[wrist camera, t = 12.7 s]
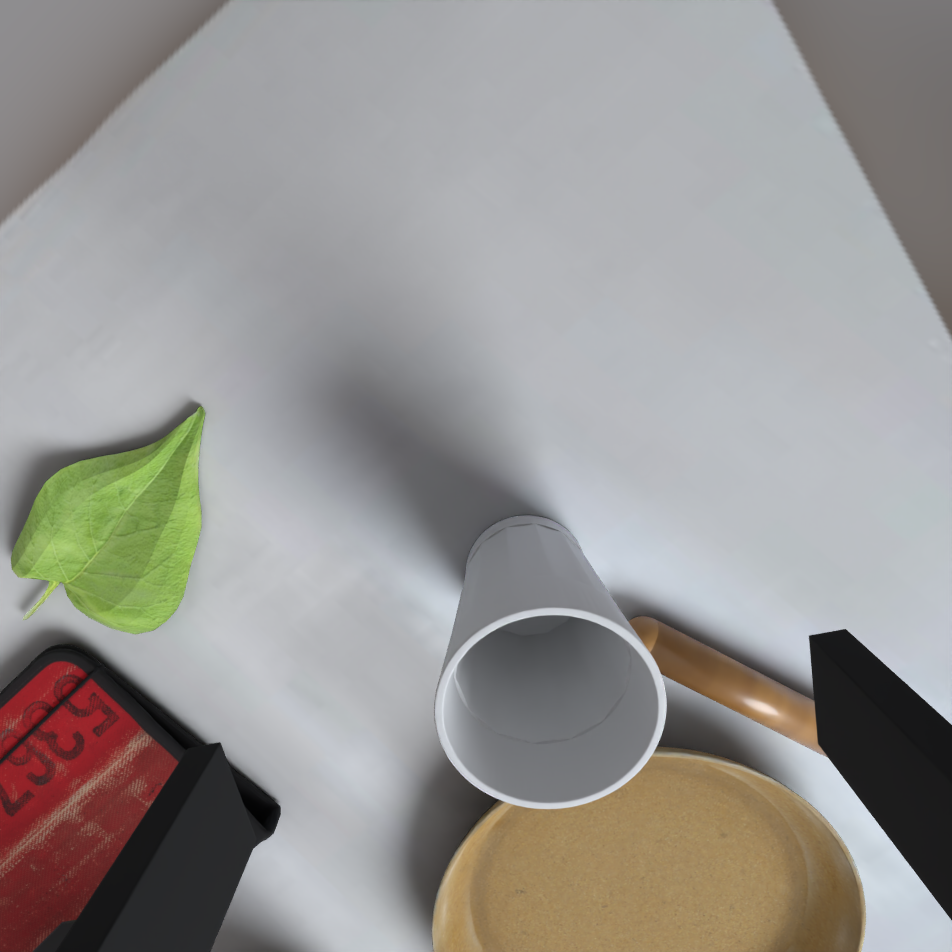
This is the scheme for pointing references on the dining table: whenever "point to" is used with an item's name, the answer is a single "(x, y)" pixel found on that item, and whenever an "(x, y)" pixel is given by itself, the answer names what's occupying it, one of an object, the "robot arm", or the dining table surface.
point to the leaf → (119, 531)
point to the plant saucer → (656, 870)
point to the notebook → (79, 786)
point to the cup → (544, 674)
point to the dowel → (729, 682)
